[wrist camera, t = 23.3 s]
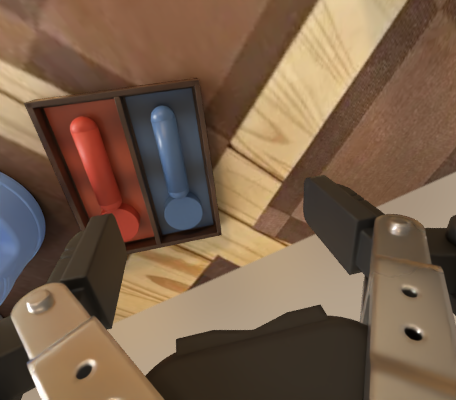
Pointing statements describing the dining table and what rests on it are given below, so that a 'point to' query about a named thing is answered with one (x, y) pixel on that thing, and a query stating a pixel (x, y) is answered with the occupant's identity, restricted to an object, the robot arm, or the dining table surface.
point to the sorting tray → (132, 155)
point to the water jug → (17, 231)
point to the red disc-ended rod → (103, 176)
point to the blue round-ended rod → (174, 172)
